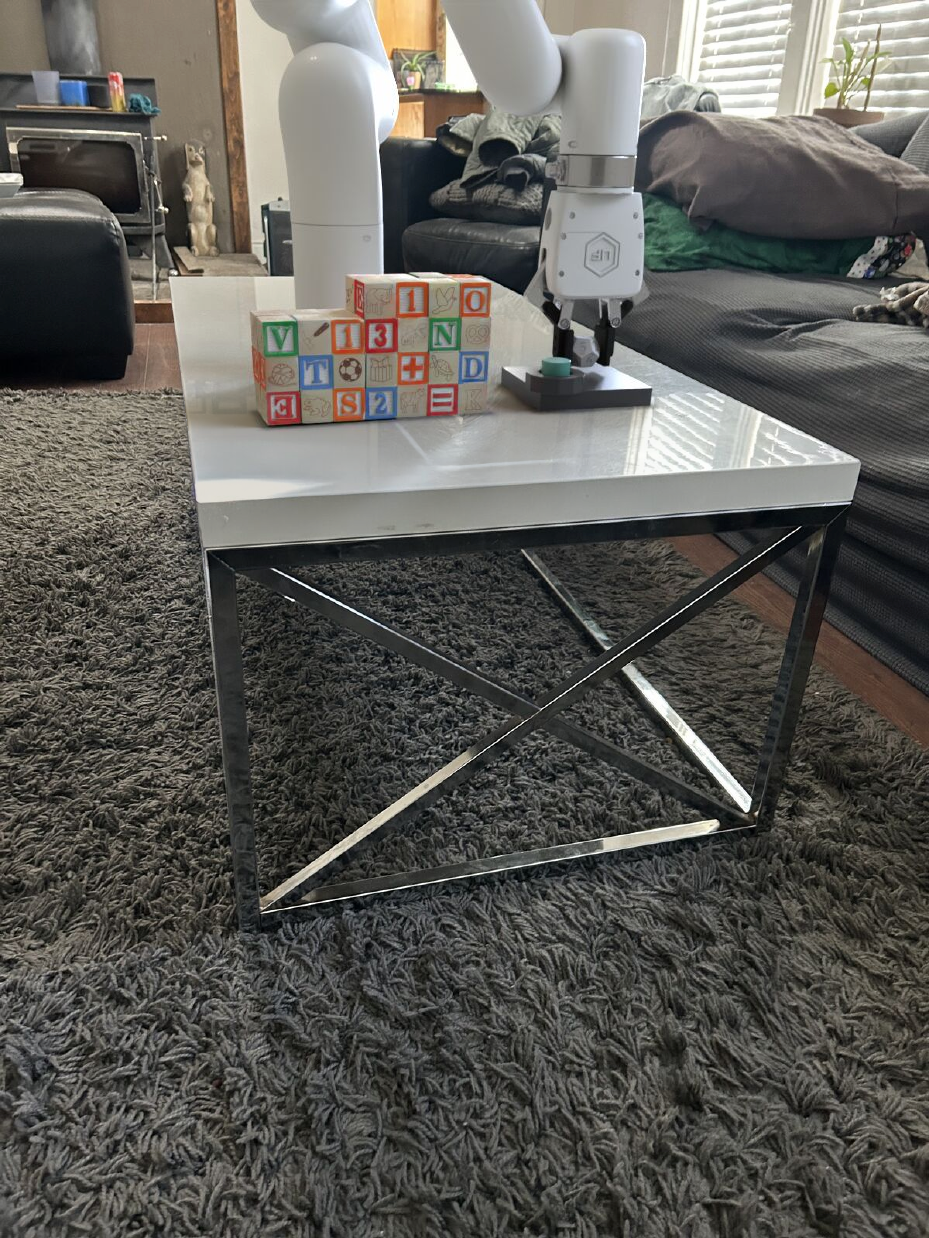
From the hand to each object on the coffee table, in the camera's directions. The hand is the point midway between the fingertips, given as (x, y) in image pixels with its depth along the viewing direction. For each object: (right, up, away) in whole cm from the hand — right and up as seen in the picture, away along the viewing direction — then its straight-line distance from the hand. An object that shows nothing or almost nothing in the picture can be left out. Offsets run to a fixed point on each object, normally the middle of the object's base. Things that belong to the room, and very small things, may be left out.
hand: (582, 363), depth 102 cm
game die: (0, 0, 0) cm, 0 cm away
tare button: (-4, -3, -8) cm, 10 cm away
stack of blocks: (-21, -8, -10) cm, 25 cm away
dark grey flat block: (-1, -4, -2) cm, 5 cm away
